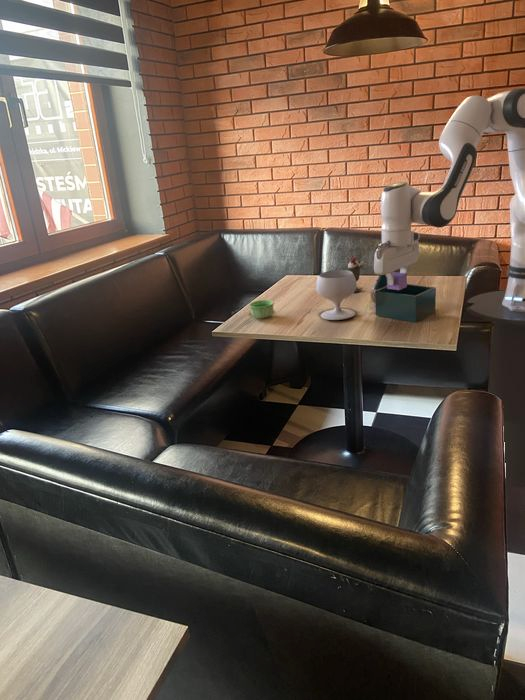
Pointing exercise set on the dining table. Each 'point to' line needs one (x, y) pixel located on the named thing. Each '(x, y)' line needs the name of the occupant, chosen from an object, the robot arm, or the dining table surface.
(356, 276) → the sundae
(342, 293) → the chalice
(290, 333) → the dining table surface
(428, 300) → the compartment
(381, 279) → the compartment lid
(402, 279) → the purple cube
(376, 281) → the vase
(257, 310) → the ramekin
